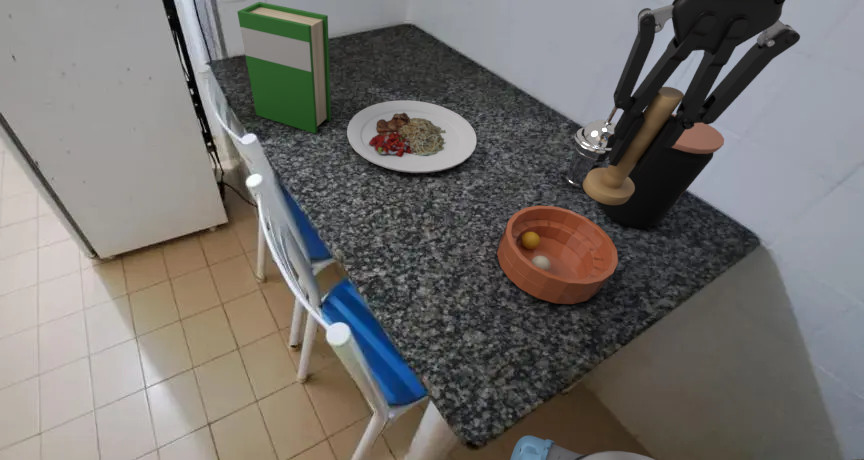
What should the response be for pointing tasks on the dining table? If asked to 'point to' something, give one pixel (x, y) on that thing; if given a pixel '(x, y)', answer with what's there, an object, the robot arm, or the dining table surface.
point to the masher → (632, 152)
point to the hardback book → (287, 64)
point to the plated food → (411, 136)
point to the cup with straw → (591, 149)
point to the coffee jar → (666, 177)
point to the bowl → (557, 254)
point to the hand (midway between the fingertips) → (626, 162)
